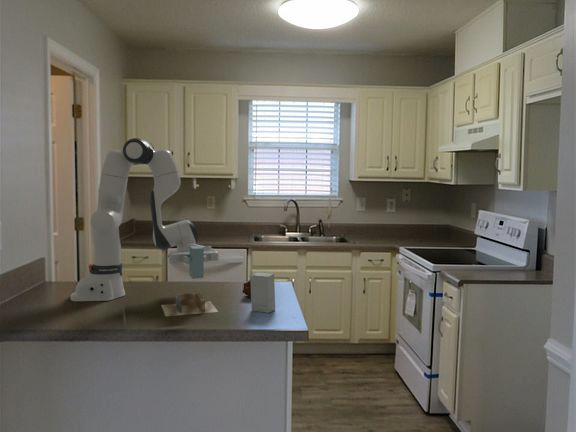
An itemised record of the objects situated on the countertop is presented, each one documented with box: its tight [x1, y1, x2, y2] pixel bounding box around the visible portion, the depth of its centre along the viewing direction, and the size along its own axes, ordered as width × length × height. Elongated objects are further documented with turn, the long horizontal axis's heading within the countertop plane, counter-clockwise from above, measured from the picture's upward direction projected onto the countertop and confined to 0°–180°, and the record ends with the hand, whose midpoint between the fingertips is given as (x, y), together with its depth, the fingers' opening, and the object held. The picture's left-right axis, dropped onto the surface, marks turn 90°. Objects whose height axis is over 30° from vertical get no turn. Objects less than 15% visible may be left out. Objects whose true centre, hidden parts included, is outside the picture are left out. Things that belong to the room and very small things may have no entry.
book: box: [189, 246, 205, 279], centre depth 201 cm, size 4×7×12 cm, turn 21°
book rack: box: [161, 292, 219, 317], centre depth 196 cm, size 20×16×6 cm
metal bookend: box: [175, 294, 181, 313], centre depth 195 cm, size 1×10×4 cm, turn 20°
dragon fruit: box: [242, 280, 251, 299], centre depth 220 cm, size 8×8×12 cm
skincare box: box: [249, 272, 276, 314], centre depth 198 cm, size 8×6×15 cm
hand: (196, 259), depth 200 cm, fingers closed on book, 4 cm apart
